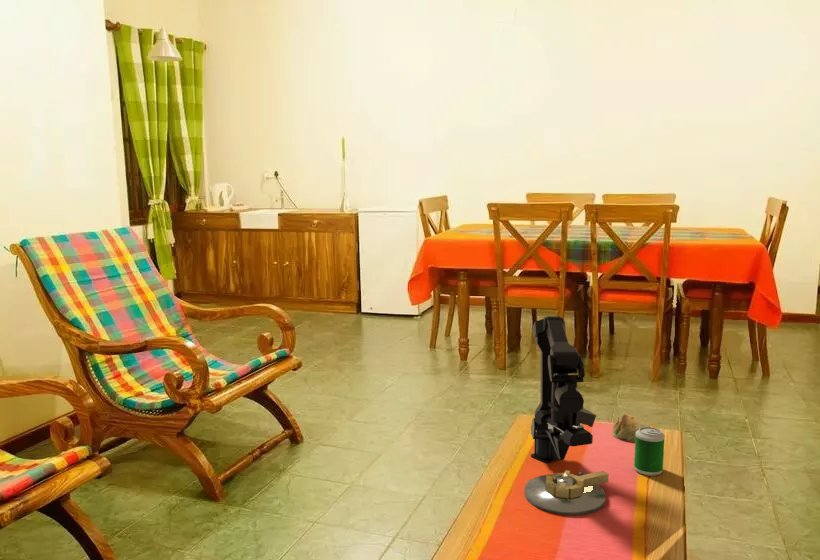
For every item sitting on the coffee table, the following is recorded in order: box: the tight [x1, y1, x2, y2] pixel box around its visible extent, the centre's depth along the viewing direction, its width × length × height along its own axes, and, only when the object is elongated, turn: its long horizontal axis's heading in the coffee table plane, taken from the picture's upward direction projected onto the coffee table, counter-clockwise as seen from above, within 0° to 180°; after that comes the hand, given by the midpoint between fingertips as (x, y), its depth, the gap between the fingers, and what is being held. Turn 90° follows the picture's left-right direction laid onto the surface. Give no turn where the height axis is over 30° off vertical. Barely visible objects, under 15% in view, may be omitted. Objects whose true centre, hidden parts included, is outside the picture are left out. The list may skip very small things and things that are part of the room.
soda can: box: [633, 426, 665, 477], centre depth 192 cm, size 8×8×12 cm
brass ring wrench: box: [545, 469, 609, 499], centre depth 180 cm, size 18×9×3 cm, turn 115°
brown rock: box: [611, 413, 651, 443], centre depth 215 cm, size 14×12×8 cm
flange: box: [524, 471, 606, 516], centre depth 178 cm, size 20×20×4 cm
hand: (561, 459), depth 177 cm, fingers closed
